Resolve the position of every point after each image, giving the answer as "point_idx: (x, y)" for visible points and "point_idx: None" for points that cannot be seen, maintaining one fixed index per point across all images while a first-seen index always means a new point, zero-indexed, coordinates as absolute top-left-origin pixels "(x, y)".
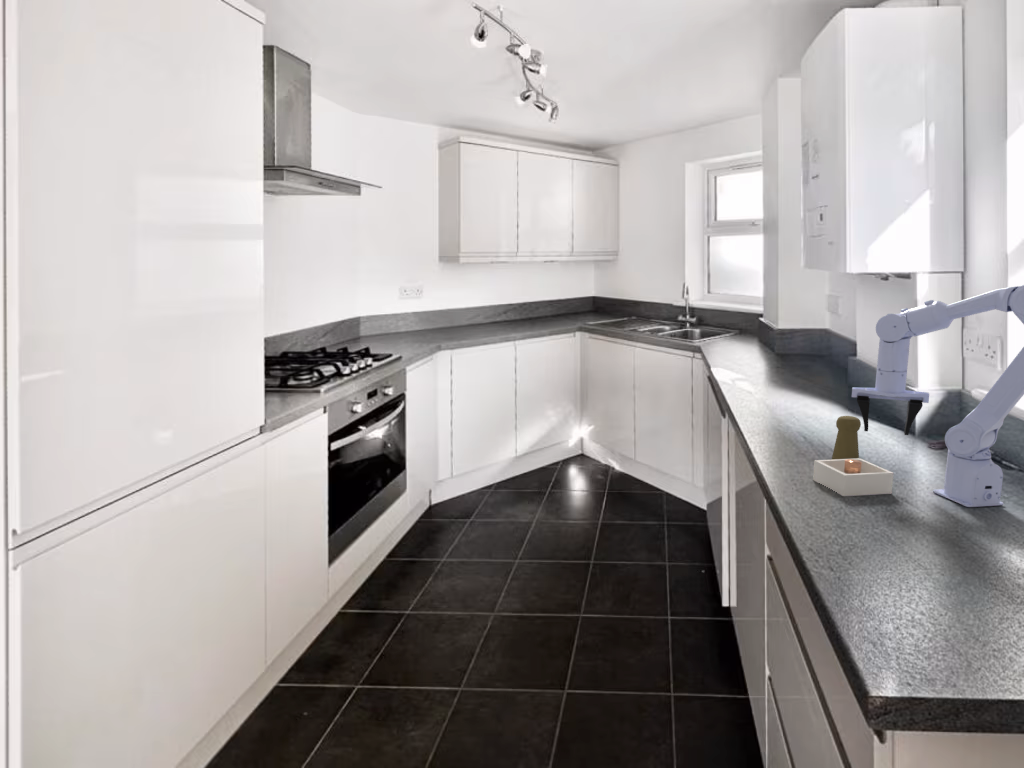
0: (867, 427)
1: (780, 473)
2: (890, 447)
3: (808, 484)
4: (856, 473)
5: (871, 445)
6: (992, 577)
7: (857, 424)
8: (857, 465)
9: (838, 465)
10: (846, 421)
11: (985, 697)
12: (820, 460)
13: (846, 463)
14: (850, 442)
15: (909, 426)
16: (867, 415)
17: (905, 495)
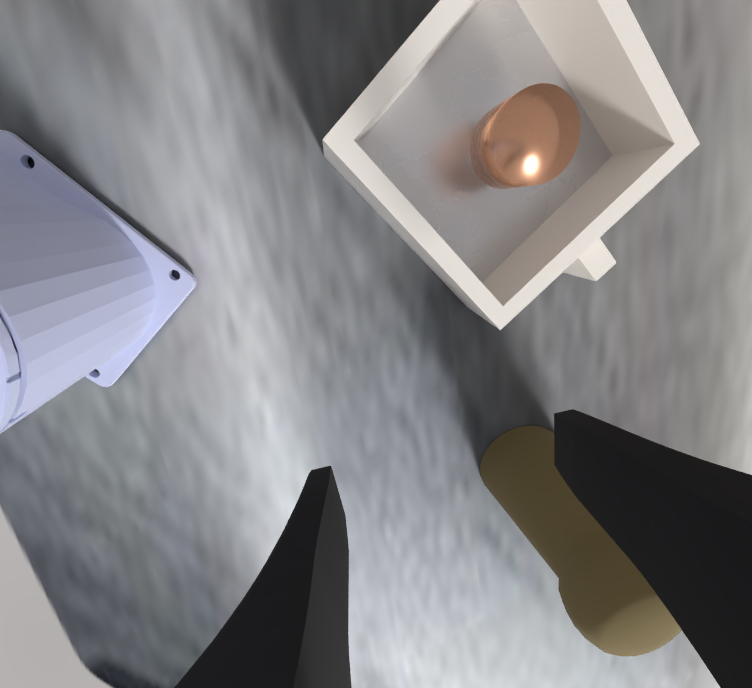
0: (579, 421)
1: (732, 176)
2: (419, 661)
3: None
4: (489, 110)
5: (467, 649)
6: None
7: (588, 587)
8: (508, 99)
9: (570, 224)
10: None
11: None
12: (670, 163)
13: (565, 99)
14: (555, 498)
15: (299, 515)
16: (674, 476)
17: (272, 167)
